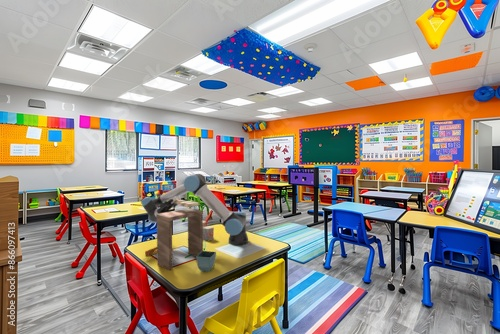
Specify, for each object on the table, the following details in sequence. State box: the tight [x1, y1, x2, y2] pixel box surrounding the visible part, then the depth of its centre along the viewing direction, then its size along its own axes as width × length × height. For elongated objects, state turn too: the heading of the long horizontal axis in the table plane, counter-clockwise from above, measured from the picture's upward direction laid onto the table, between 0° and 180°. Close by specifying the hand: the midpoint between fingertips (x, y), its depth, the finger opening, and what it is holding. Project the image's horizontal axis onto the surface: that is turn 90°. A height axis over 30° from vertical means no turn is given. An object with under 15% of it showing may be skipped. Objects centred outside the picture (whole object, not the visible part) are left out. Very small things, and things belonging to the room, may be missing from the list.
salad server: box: [169, 199, 200, 208], centre depth 154 cm, size 26×7×2 cm, turn 50°
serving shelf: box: [156, 207, 204, 271], centre depth 146 cm, size 24×14×30 cm, turn 140°
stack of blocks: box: [203, 220, 214, 242], centre depth 194 cm, size 21×6×12 cm, turn 45°
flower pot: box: [195, 250, 217, 273], centre depth 134 cm, size 9×9×9 cm
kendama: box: [144, 246, 157, 256], centre depth 164 cm, size 6×6×20 cm
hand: (177, 197), depth 156 cm, fingers closed on salad server, 2 cm apart
